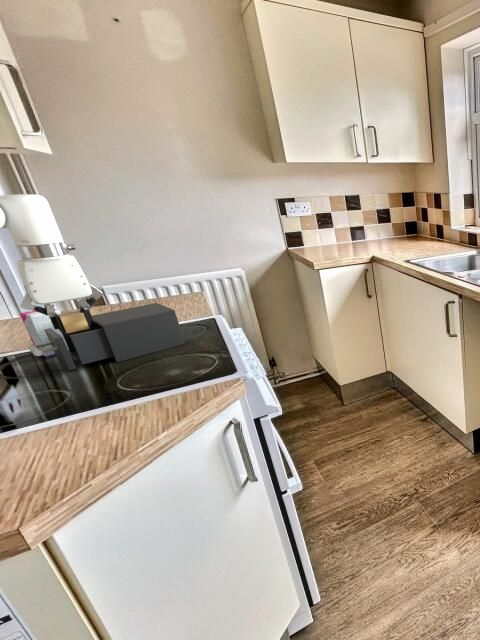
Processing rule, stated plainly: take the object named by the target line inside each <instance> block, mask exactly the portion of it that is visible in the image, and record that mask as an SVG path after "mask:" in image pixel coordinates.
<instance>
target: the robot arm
mask: <svg viewBox="0 0 480 640" xmlns="http://www.w3.org/2000/svg"><path fill="white" fill-rule="evenodd" d="M2 229H7V230H8V231H9V234H10V236H11V238H12V240H13V244H14V245H15V248H16V250H17V252H18V254H19V257H20V259H19V260H17V261H16V264H17V265H16V266H17V269H18V274H19V276H20V279H21V283H22V285H23V288H24V290H25V294H24V296H23V297H22V300H21V303H20V305H19V307H20V308H21V309H22V310H28V311H37V312H39V313H42V314H44V315H47V316H49V318H50V320H51V322H52V324H53V327H54V329H55V330H56V329H59V331H60V332H65V329H64V326H63V324H62V322H61V319H60V317H59V316H58V315H57V313H55V309H56V308H55V304H57V303H61V302H69V301H76V303H77V304H78V306H79V310H78V311H80V312H82V313H83V314H84V316H85V319H86V321H87V324H88V326H89V327H91V326H92V325H91V322H94V321H93V319H92V314H91V311H90V310H91V308H92V306H93V305H94V304H95V303H96V302H97V300H99V299H100V298H102V297H103V296H104V292H103V291H101V290H99V289H98V288H97V287H95V286H94V285H92V284H90V282H89V280H88V279H87V276H86V275H85V273H84V271H83V269H82V267H81V265H80V264H79V262H78V260H77V259H76V258H75V256H74V255H73V254H70V252H72V251H75V250H76V246H75V245H74V243H66V242H65V241H64V239H63V235H62V233H61V231H60V228H59V225H58V223H57V220H56V219H55V216H54V214H53V211H52V209H51V206H50V204H49V202H48V200H47V199H46V197H44V196H43V195H41V194H36V193H35V194H34V193H33V194H32V193H29V194H28V193H22V194H21V193H20V194H19V193H17V194H4V195H0V230H2ZM85 298H86V299H85ZM32 302H33V303H34V304H32ZM35 304H36V305H35ZM40 305H43V306H40Z"/></svg>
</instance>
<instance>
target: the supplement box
mask: <svg viewBox="0 0 480 640" xmlns="http://www.w3.org/2000/svg"><path fill="white" fill-rule="evenodd" d="M54 309H55V313H57V315H58V314H62V313H61V310H60V309H56V308H54ZM19 315H20V317H21V321H22V322H23V324H24V326H25V329H26V331H27V333H28V335H29V338H30V341H31V342H32V344H35V345H39V344H44V343H48V342H50V341H49V339H48V337H47V335H46V332H45V330H44V329H48V328H51V329H53V330H54V331H55V332H56V333H57V334H59V335H60V336H61V337H62V338H63V340H64V342H65V344H66V341H65V339H64V337H63V335H62V332H60V331H59V329H56V330H55V329H54V327H53V324H52V322H51V320H50V318H49V316H47V315H44V314H42V313H39V312H37V311H32V310H28V311H24V312H20V313H19ZM66 347H67V349H68V351H69V353H70V350H69V348H68V346H67V344H66ZM49 348H52V346H51V345H48V346H44V347H40V348H39V349H40V350H41V351H42V350H45V349H49ZM40 357H44V358H46V359H50V358H53V357H56V354H55V352H54V351H50V352H46V353H43V354H42V355H41V356H40Z"/></svg>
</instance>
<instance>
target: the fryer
mask: <svg viewBox="0 0 480 640" xmlns="http://www.w3.org/2000/svg"><path fill="white" fill-rule="evenodd" d="M91 316H92V319H93V321H94V323H96V324H97V325H99V326H100V327H102V328H103V330H104V333H105V335H106V338H107V340H108V343H109V345H110V348H111V350H112V353H113V355H114V357H110V358H111V359H112V360H113V361H114V362H116V363H119V362H123V361H126V360H130V359H134V358H138V357H141V356H145V355H149V354H153V353H156V352H157V353H158V352H160V351H164V350H167V349H172V348H175V347H179V346H182V345H186V340H185V337H184V334H183V332H182V328H181V325H180V322H179V319H178V315H177V313H176V310H175V309H173V308H171V307H168V306H166V305H163V304H161V303H158V302H154V303H149V304H148V303H147V304H143V305H138V306H133V307H128V308H123V309H119V310H114V311H108V312H102V313H98V314H91Z"/></svg>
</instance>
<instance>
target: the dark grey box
mask: <svg viewBox="0 0 480 640" xmlns="http://www.w3.org/2000/svg"><path fill="white" fill-rule="evenodd" d="M91 325H92V326H91V327H89V329H86V330H81V331H77V332H72V333H66V332H62V335H63V337H64V339H65V341H66V344H67V346H68V348H69V350H70V352H69V351H68V349H67V347H66V344H65V342H64V340H63V338H62V337H61V336H60V335H59V334H57V333H56V332H55V331H54V330H53V329H51V328H48V329H44V330H45V332H46V335H47V337H48V339H49V341H50V342H48V343H44V344H39V345H35V344H33V343H32V344H29V345H27V349H28V350H29V351H30V352H31V353H32V354H33V355H34V356H36V357H42V356H41V355H42V354H43V353H46V352H50V351H54V352H55V354H56V356H55V357H56V359H57V360H58V361H59V362H60V363H61V364H62V365H63V366H64V367H65V368H66V369H68V371H71V370H75V369H77V367H76V365H75V363H74V360H73V358H74V359H76V360H77V361H78V362H79V363H80V364H81V365H86V364H91V363H94V362H98V361H102V360H105V359H110V358H111V357H114V355H113V353H112V350H111V348H110V345H109V343H108V340H107V338H106V335H105V333H104V330H103V328H102V327H100V326H99V325H97V324H96V323H94V322H91ZM48 345H51V346H52V348H49V349H45V350H42V351H41V350H40V349H39V348H40V347H44V346H48ZM72 357H73V358H72Z"/></svg>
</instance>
